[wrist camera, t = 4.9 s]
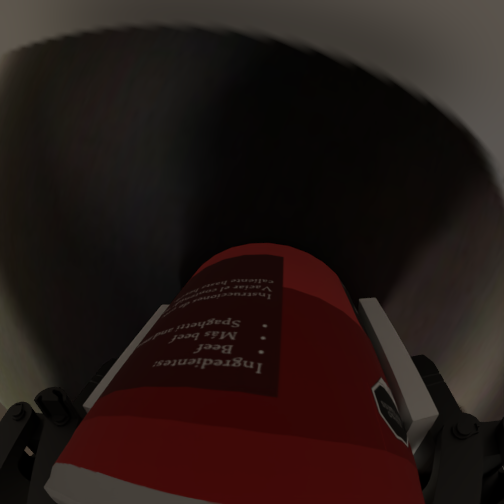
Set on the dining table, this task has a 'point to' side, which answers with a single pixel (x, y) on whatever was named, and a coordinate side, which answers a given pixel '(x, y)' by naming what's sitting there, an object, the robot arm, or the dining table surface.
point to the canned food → (246, 399)
